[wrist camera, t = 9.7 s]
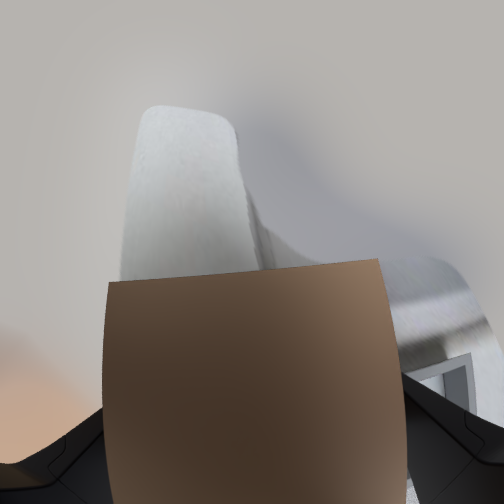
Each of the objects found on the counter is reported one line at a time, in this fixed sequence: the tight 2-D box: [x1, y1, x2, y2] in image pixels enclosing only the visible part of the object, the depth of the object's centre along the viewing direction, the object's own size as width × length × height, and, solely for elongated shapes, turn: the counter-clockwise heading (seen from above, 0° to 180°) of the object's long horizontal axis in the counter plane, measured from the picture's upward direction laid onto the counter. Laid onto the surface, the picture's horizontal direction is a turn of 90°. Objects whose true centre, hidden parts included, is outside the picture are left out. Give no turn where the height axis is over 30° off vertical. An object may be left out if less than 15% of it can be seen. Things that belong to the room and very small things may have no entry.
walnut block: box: [102, 259, 407, 504], centre depth 10 cm, size 5×5×14 cm
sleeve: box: [404, 352, 477, 488], centre depth 13 cm, size 8×8×3 cm
